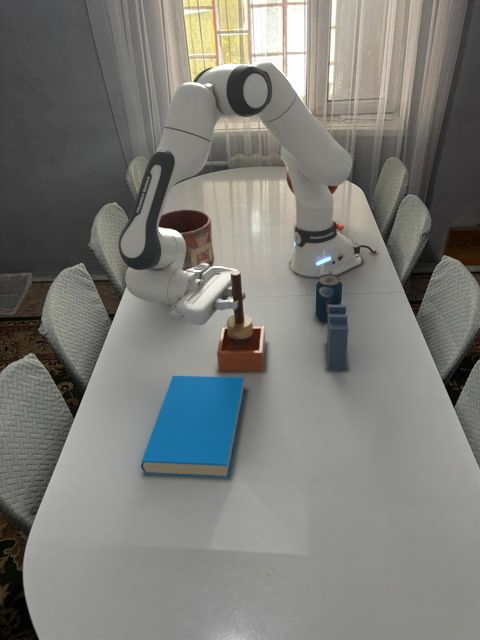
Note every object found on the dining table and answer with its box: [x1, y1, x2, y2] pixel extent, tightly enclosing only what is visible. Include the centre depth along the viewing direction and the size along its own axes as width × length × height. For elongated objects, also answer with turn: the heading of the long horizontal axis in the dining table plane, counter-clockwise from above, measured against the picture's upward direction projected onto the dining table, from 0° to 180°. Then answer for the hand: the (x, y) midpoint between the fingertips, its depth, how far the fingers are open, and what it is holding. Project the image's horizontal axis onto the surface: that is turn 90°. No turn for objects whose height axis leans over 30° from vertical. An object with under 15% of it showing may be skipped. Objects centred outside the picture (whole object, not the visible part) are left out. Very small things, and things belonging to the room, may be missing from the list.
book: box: [140, 375, 246, 479], centre depth 107 cm, size 17×4×25 cm
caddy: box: [216, 326, 266, 372], centre depth 125 cm, size 11×11×6 cm
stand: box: [326, 304, 349, 371], centre depth 121 cm, size 4×10×14 cm, turn 177°
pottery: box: [159, 209, 215, 270], centre depth 156 cm, size 18×18×18 cm
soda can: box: [314, 274, 344, 325], centre depth 135 cm, size 7×7×12 cm
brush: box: [226, 269, 254, 345], centre depth 118 cm, size 15×6×15 cm
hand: (241, 300), depth 116 cm, fingers closed on brush, 2 cm apart
